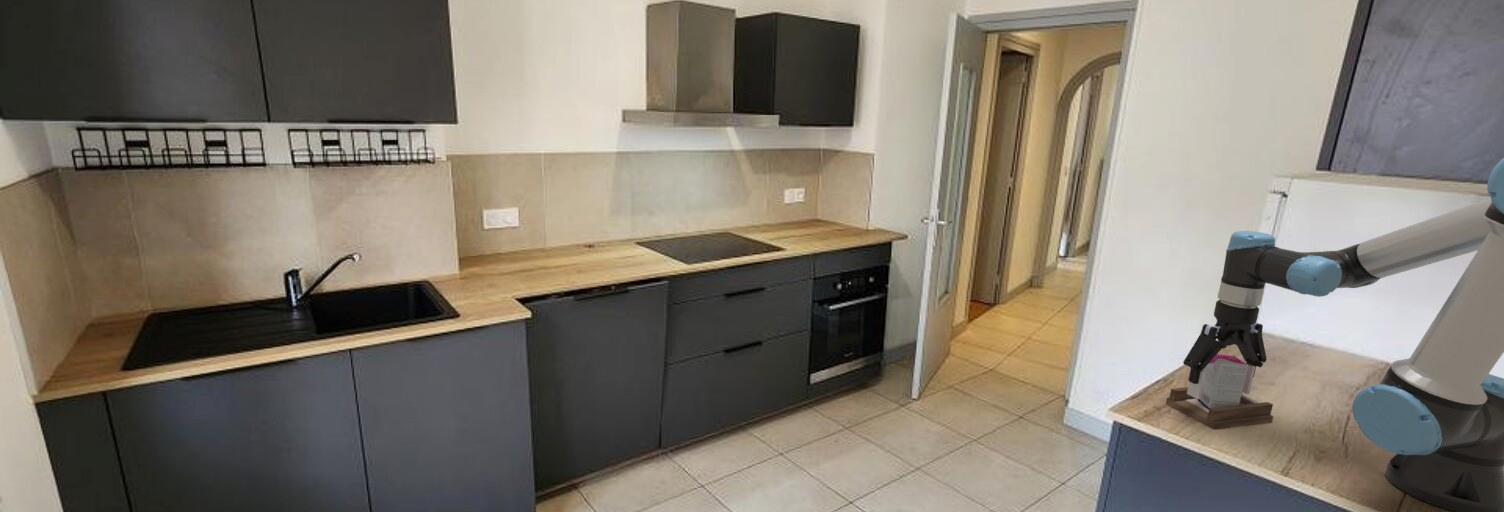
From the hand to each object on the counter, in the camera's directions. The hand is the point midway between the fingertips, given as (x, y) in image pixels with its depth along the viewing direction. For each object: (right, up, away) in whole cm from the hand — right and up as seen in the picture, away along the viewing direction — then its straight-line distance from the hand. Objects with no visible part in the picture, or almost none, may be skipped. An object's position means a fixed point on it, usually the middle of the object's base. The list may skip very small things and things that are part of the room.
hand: (1218, 393), depth 143 cm
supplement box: (0, -3, +1) cm, 3 cm away
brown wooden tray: (+1, -4, +1) cm, 5 cm away
